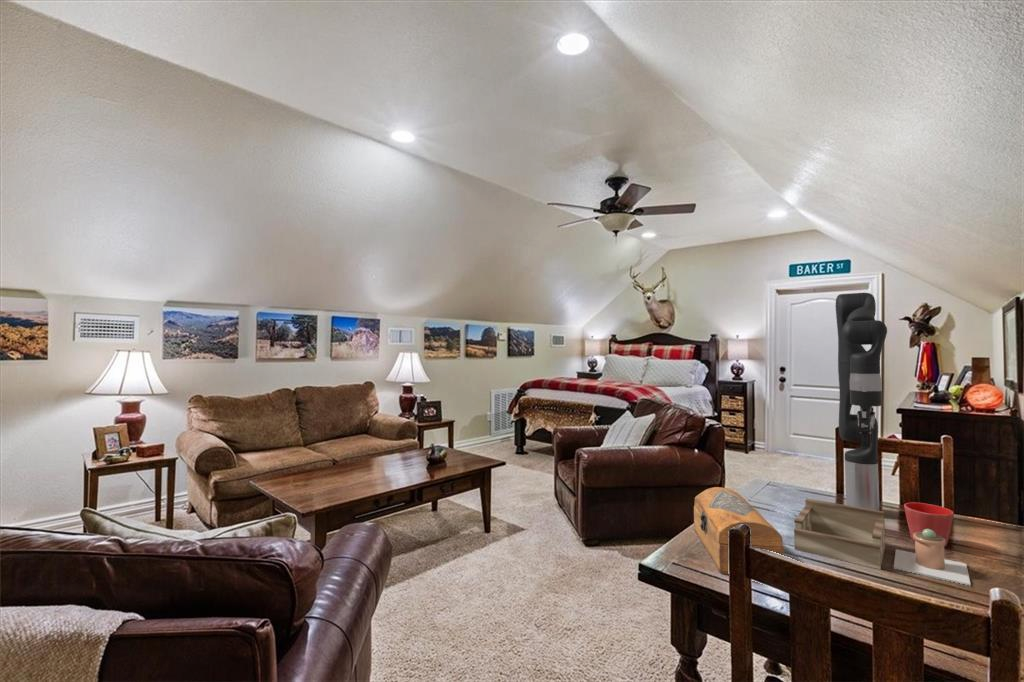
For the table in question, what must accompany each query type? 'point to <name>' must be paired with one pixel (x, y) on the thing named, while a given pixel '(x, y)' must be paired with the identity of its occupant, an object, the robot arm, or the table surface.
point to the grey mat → (951, 572)
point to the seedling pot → (929, 549)
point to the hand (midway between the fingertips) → (867, 444)
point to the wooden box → (730, 524)
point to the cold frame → (841, 532)
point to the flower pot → (929, 519)
